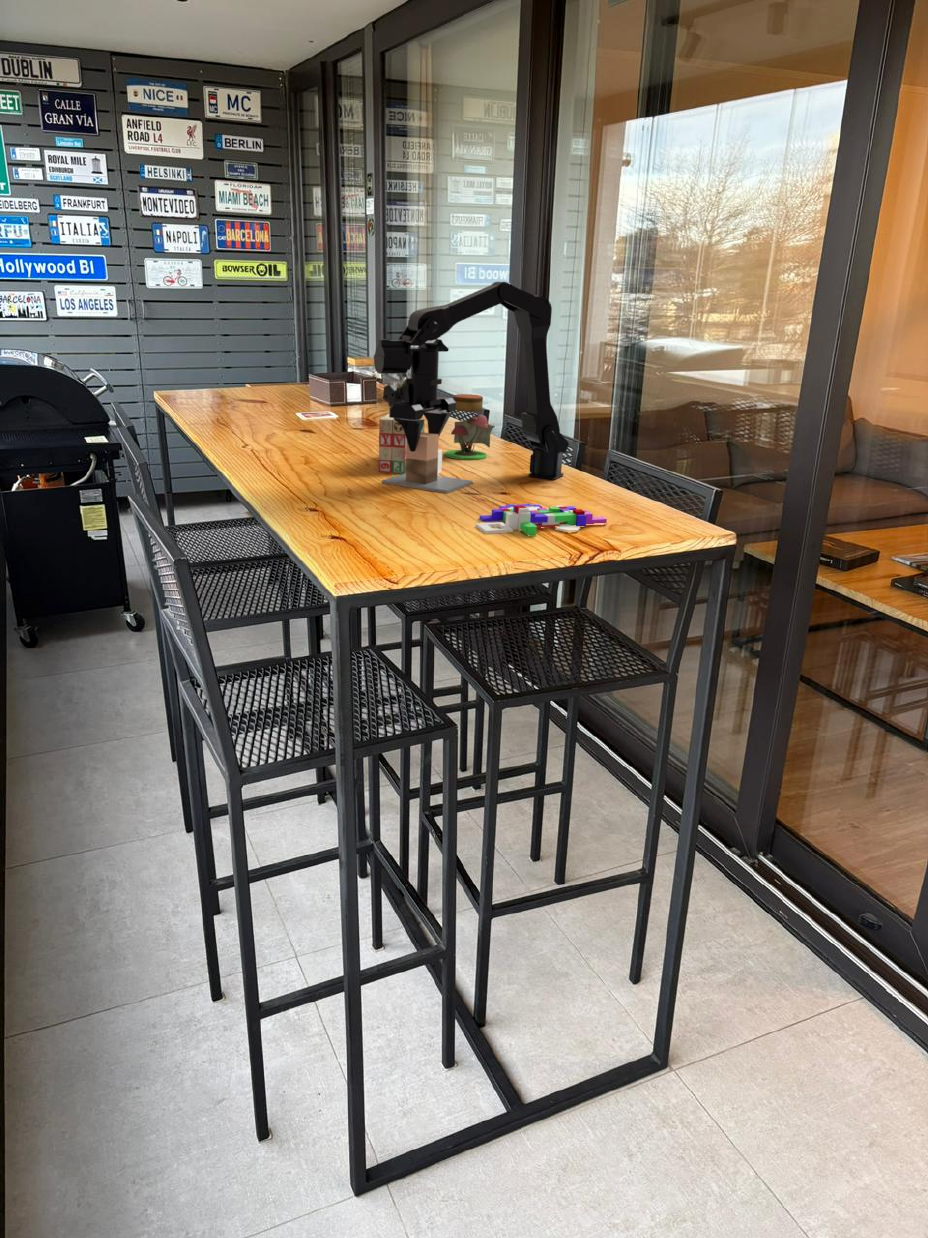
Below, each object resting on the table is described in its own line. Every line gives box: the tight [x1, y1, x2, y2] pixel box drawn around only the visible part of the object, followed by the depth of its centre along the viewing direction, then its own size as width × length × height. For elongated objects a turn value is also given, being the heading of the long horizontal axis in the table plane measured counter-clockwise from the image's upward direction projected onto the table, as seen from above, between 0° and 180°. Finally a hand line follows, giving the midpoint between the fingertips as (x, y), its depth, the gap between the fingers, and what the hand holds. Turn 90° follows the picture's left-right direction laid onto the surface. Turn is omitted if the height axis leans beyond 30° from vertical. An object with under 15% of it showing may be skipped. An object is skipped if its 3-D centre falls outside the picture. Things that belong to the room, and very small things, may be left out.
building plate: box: [381, 473, 474, 494], centre depth 197 cm, size 16×12×1 cm
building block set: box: [475, 503, 608, 536], centre depth 170 cm, size 25×20×4 cm
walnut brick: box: [406, 458, 438, 484], centre depth 195 cm, size 5×5×5 cm
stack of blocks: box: [378, 413, 425, 475], centre depth 214 cm, size 21×6×12 cm, turn 170°
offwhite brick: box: [437, 449, 443, 475], centre depth 208 cm, size 5×5×5 cm
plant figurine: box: [444, 393, 495, 460], centre depth 227 cm, size 12×13×15 cm
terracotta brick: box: [406, 431, 440, 461], centre depth 194 cm, size 5×5×5 cm
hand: (422, 448), depth 194 cm, fingers open, 8 cm apart
